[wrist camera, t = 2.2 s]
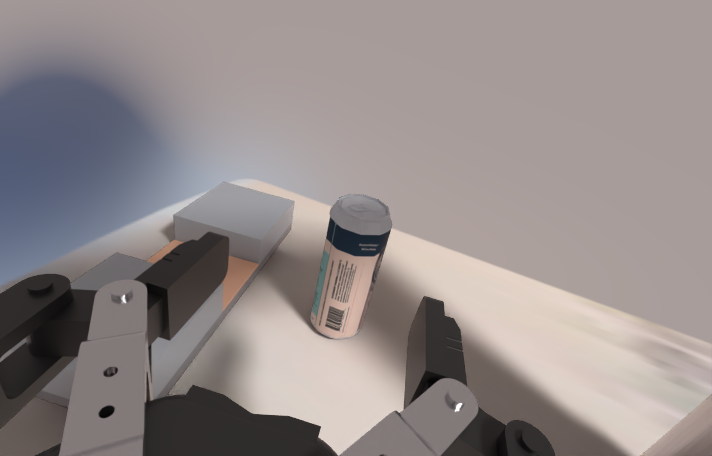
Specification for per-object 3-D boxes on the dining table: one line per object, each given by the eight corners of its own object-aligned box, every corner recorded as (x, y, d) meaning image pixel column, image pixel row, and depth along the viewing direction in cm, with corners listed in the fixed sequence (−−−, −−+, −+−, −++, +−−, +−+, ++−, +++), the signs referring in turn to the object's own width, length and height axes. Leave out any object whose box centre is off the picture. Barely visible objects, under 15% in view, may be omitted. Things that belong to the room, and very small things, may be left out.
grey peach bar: (290, 229, 43) (294, 201, 41) (139, 431, 20) (132, 389, 19) (223, 210, 44) (223, 181, 42) (3, 386, 21) (-19, 341, 19)
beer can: (371, 332, 31) (408, 217, 25) (326, 351, 28) (356, 226, 22) (343, 298, 34) (370, 189, 28) (300, 311, 31) (320, 194, 26)
